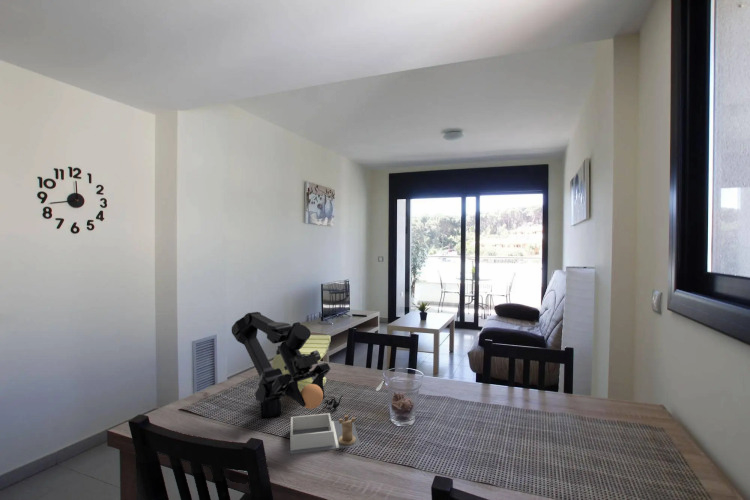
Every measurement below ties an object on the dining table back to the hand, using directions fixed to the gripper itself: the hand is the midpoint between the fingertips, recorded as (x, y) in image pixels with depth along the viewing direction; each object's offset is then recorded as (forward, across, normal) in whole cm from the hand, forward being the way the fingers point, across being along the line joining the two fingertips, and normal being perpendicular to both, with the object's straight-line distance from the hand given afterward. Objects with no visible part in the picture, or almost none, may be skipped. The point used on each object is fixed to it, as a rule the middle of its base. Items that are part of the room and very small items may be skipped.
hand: (314, 402), depth 111 cm
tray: (+7, 0, +9) cm, 11 cm away
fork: (-3, +50, +20) cm, 54 cm away
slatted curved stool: (-19, +25, +36) cm, 48 cm away
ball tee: (+14, +6, +2) cm, 15 cm away
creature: (-1, +18, +18) cm, 25 cm away
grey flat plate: (+8, +3, +8) cm, 12 cm away
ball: (-2, 0, 0) cm, 2 cm away
